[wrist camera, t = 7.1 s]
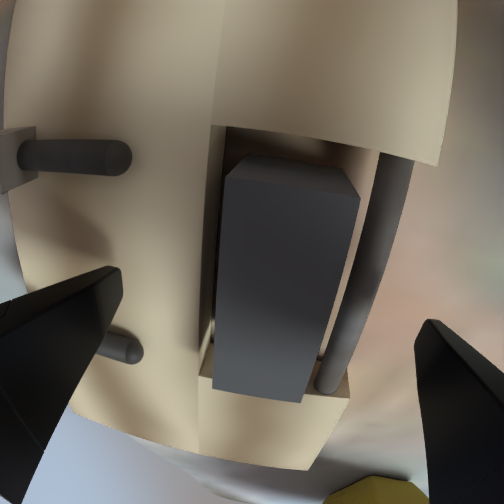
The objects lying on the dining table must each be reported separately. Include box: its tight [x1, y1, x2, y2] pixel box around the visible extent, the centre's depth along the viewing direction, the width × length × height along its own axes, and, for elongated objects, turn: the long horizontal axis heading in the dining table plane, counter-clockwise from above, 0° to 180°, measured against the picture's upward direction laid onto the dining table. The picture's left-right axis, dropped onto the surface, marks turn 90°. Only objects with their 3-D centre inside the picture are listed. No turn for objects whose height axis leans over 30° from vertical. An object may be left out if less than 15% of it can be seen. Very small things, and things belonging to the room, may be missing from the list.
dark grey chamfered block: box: [212, 154, 361, 403], centre depth 10 cm, size 3×7×4 cm, turn 174°
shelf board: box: [0, 0, 458, 471], centre depth 10 cm, size 14×23×4 cm, turn 173°
